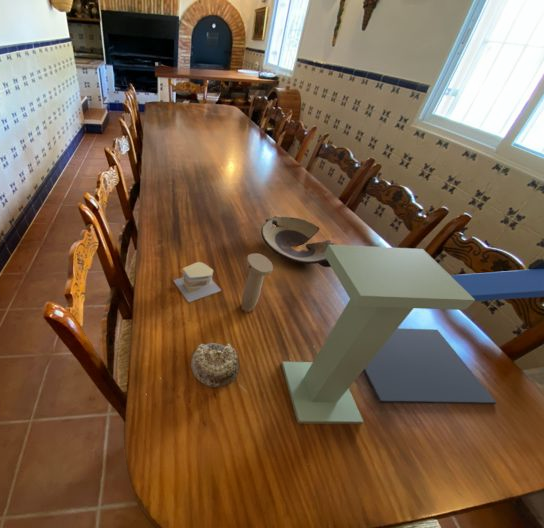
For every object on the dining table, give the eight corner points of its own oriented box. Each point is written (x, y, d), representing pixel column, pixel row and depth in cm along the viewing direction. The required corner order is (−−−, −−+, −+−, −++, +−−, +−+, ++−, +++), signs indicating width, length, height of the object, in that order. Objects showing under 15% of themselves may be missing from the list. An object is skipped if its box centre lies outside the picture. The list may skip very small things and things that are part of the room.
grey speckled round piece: (243, 386, 59) (249, 373, 55) (194, 392, 57) (196, 379, 54) (232, 341, 66) (236, 328, 62) (187, 346, 64) (189, 332, 61)
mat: (436, 330, 73) (437, 329, 73) (494, 404, 59) (496, 402, 59) (342, 328, 72) (343, 326, 71) (379, 402, 58) (381, 400, 57)
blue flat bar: (566, 272, 46) (572, 266, 45) (596, 293, 43) (604, 286, 42) (418, 283, 48) (421, 277, 47) (435, 304, 45) (439, 297, 44)
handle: (249, 297, 78) (261, 251, 68) (262, 315, 73) (277, 269, 63) (232, 301, 76) (243, 255, 66) (245, 320, 71) (258, 273, 62)
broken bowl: (306, 226, 107) (312, 208, 102) (356, 283, 85) (368, 262, 80) (247, 229, 103) (252, 210, 98) (284, 290, 80) (292, 268, 76)
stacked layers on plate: (188, 302, 75) (189, 286, 71) (172, 280, 80) (173, 264, 77) (221, 290, 79) (224, 275, 75) (204, 270, 84) (206, 255, 81)
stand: (335, 365, 64) (418, 244, 43) (361, 424, 54) (482, 306, 34) (271, 363, 63) (325, 240, 42) (286, 423, 53) (364, 302, 33)
